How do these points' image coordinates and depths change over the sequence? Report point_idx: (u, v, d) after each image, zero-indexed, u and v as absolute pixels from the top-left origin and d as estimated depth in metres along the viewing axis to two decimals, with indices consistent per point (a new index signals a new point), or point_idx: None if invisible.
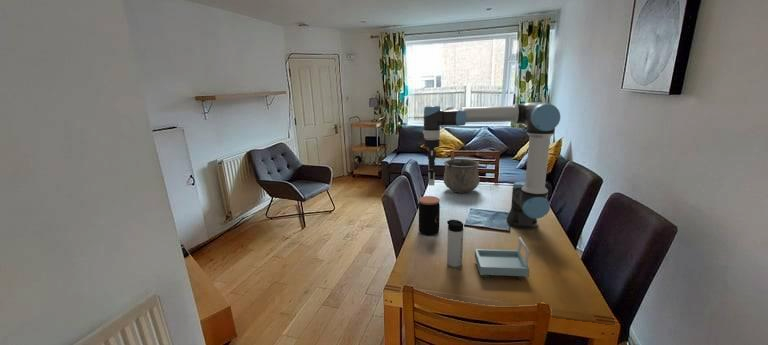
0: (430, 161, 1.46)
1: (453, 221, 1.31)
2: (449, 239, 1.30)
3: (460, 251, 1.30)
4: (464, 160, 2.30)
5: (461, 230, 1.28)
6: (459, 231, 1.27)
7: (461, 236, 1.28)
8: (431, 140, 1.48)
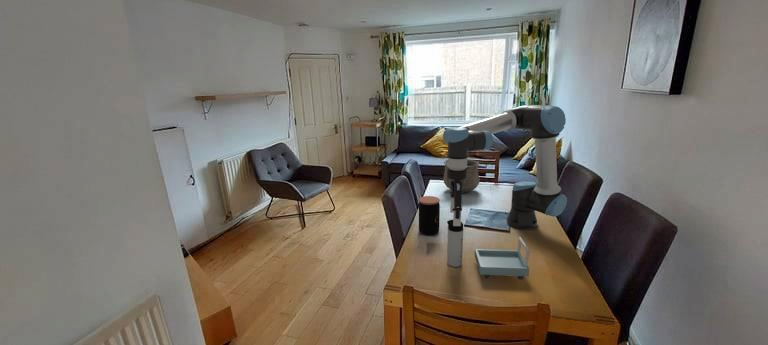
0: (456, 197, 1.18)
1: None
2: (449, 239, 1.30)
3: (460, 251, 1.30)
4: None
5: (461, 230, 1.28)
6: (459, 231, 1.27)
7: (461, 236, 1.28)
8: (457, 171, 1.20)
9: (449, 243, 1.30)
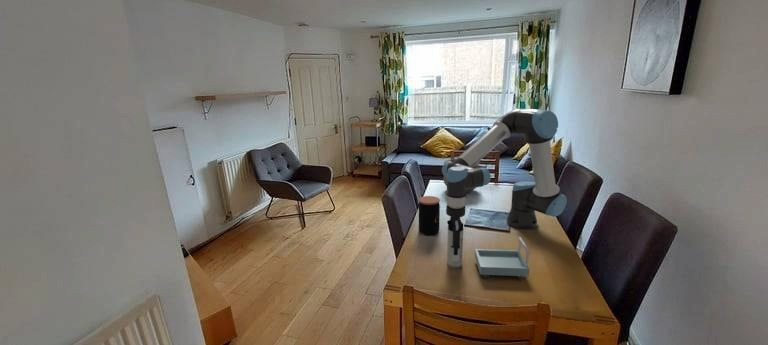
0: (455, 237, 1.24)
1: None
2: (449, 239, 1.30)
3: (460, 251, 1.30)
4: None
5: (461, 230, 1.28)
6: None
7: (461, 236, 1.28)
8: (456, 209, 1.24)
9: (449, 243, 1.30)
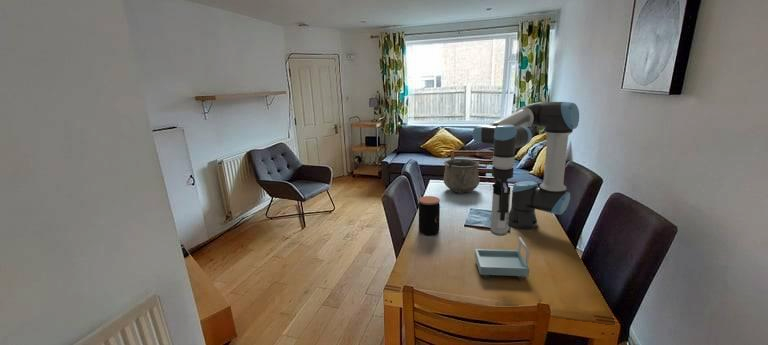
0: (503, 200, 1.15)
1: None
2: (494, 204, 1.21)
3: (506, 217, 1.21)
4: (464, 160, 2.30)
5: None
6: None
7: (508, 200, 1.19)
8: (504, 169, 1.15)
9: (494, 208, 1.21)
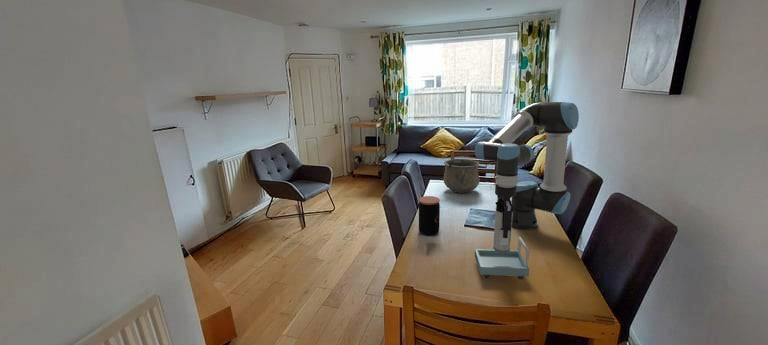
0: (506, 218, 1.17)
1: None
2: (497, 221, 1.22)
3: (509, 234, 1.22)
4: (464, 160, 2.30)
5: None
6: None
7: None
8: (507, 188, 1.17)
9: (497, 226, 1.23)
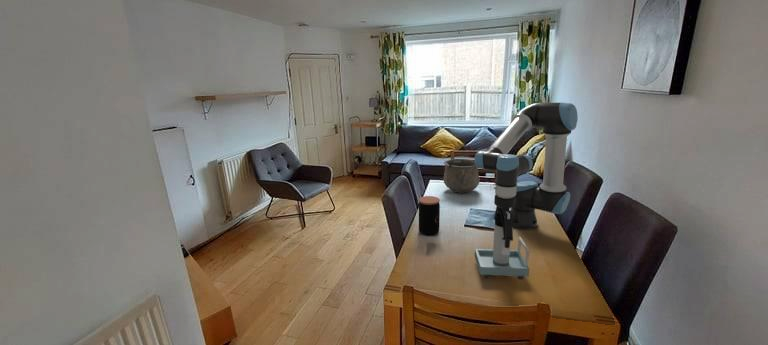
0: (507, 226, 1.16)
1: None
2: (496, 235, 1.24)
3: None
4: (464, 160, 2.30)
5: None
6: None
7: None
8: (507, 199, 1.18)
9: (496, 239, 1.24)
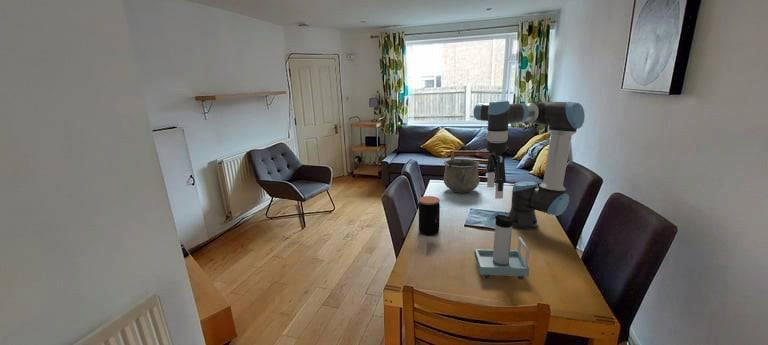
0: (499, 169, 1.19)
1: (501, 216, 1.25)
2: (497, 235, 1.24)
3: (508, 248, 1.24)
4: (464, 160, 2.30)
5: (510, 226, 1.22)
6: (509, 227, 1.21)
7: (510, 232, 1.22)
8: (499, 143, 1.21)
9: (497, 239, 1.24)
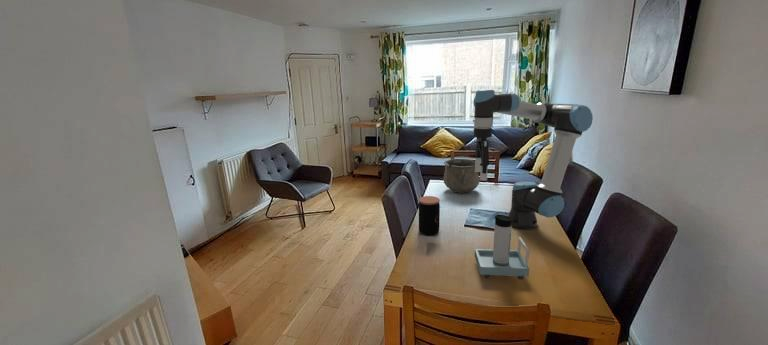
0: (484, 153, 1.28)
1: (500, 216, 1.25)
2: (497, 235, 1.24)
3: (508, 247, 1.24)
4: (464, 160, 2.30)
5: (510, 225, 1.22)
6: (508, 226, 1.21)
7: (510, 232, 1.22)
8: (484, 129, 1.30)
9: (496, 239, 1.24)
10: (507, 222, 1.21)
